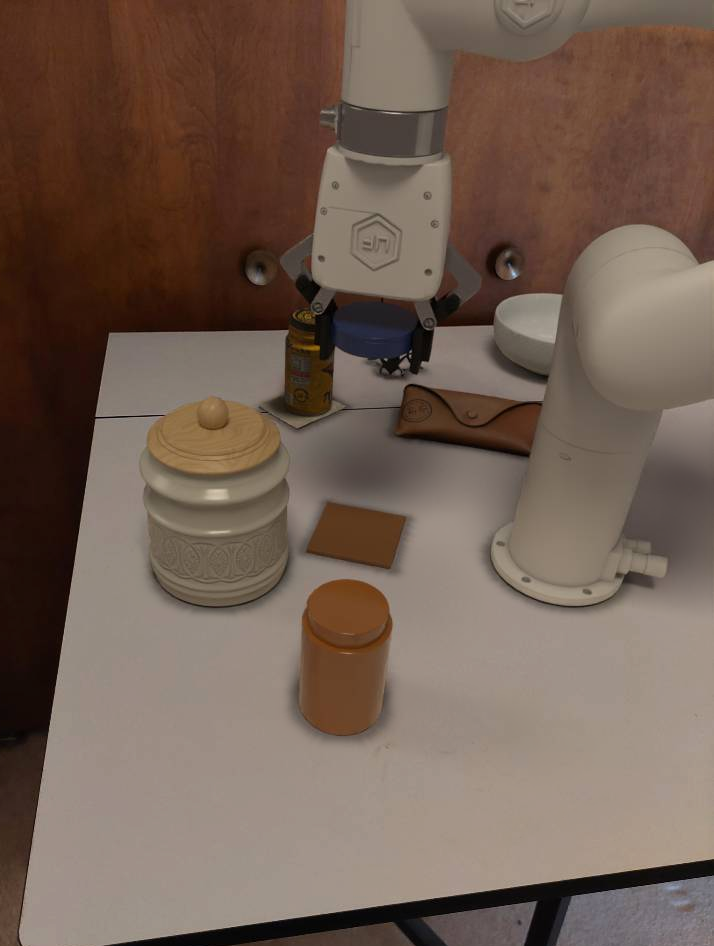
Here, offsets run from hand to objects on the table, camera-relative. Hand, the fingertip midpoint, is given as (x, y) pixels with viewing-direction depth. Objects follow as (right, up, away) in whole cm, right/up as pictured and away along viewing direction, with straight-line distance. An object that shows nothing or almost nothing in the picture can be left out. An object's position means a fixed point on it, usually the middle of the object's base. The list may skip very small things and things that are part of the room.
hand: (371, 359), depth 68 cm
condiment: (-6, +1, +33) cm, 34 cm away
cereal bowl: (+28, +9, +45) cm, 54 cm away
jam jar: (-3, -28, -4) cm, 29 cm away
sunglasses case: (+14, -2, +30) cm, 33 cm away
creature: (+6, +8, +42) cm, 43 cm away
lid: (0, +3, -2) cm, 3 cm away
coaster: (0, -15, +13) cm, 20 cm away
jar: (-14, -18, +9) cm, 24 cm away
